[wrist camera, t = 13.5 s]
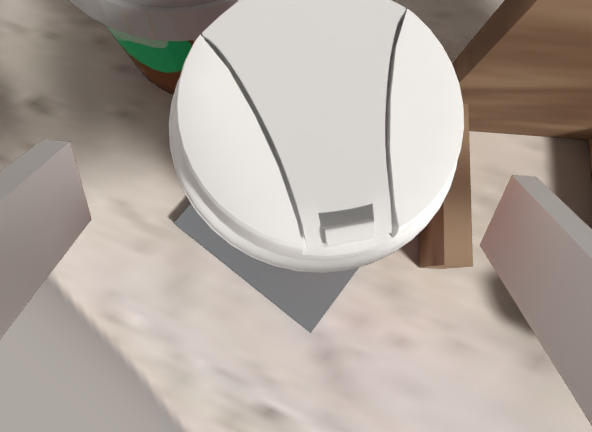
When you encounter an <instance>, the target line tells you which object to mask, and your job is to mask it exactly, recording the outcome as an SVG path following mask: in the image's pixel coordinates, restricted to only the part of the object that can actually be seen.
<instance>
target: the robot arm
mask: <svg viewBox="0 0 592 432" xmlns="http://www.w3.org/2000/svg"><path fill="white" fill-rule="evenodd" d="M90 221H91V216H90V212H89V208H88V205H87V201H86V197H85V194H84V190H83V186H82V183H81V179H80V175H79V172H78V168H77V164H76V161H75V157H74V153H73V150H72V146H71V142H70V141H57V140H44V139H43V140H42V141H40V142H39V143H38V144H36V145H35V146H34V147H32V148H31V149H30V150H28V151H27V152H26V153H24V154H23V155H22V156H20V157H19V158H18V159H16V160H15V161H14V162H12V163H11V164H10V165H8V166H7V167H6V168H4V169H3V170H2V171H0V339H1V338H2V336H3V335H4V334H5V332H6V331H7V330H8V328H9V327H10V326H11V325H12V323H13V322H14V321H15V319H16V318H17V317H18V315H19V314H20V313H21V311H22V310H23V309H24V307H25V306H26V305H27V303H28V302H29V301H30V300H31V298H32V297H33V296H34V294H35V293H36V292H37V290H38V289H39V288H40V286H41V285H42V284H43V282H44V281H45V280H46V278H47V277H48V276H49V275H50V273H51V272H52V271H53V269H54V268H55V267H56V265H57V264H58V263H59V261H60V260H61V259H62V257H63V256H64V255H65V253H66V252H67V251H68V250H69V248H70V247H71V246H72V244H73V243H74V242H75V240H76V239H77V238H78V236H79V235H80V234H81V232H82V231H83V230H84V228H85V227H86V226H87V224H88V223H89V222H90ZM480 246H481V248H482V250H483V251H484V253H485V255H486V256H487V258H488V259H489V261H490V263H491V264H492V266H493V267H494V269H495V271H496V272H497V274H498V275H499V277H500V279H501V280H502V282H503V284H504V285H505V287H506V288H507V290H508V292H509V293H510V295H511V296H512V298H513V300H514V301H515V303H516V304H517V306H518V308H519V309H520V311H521V313H522V314H523V316H524V317H525V319H526V321H527V322H528V324H529V325H530V327H531V329H532V330H533V332H534V334H535V335H536V337H537V338H538V340H539V342H540V343H541V345H542V346H543V348H544V350H545V351H546V353H547V354H548V356H549V358H550V359H551V361H552V363H553V364H554V366H555V367H556V369H557V371H558V372H559V374H560V375H561V377H562V379H563V380H564V382H565V383H566V385H567V387H568V388H569V390H570V392H571V393H572V395H573V396H574V398H575V400H576V401H577V403H578V404H579V406H580V408H581V409H582V411H583V412H584V414H585V416H586V417H587V419H588V421H589V422H590V424H591V425H592V229H591V228H590V227H589V226H588V225H587V224H586V223H585V222H583V221H582V220H581V219H580V218H579V217H578V216H577V215H576V214H575V213H574V212H573V211H572V210H571V209H570V208H569V207H568V206H567V205H566V204H564V203H563V202H562V201H561V200H560V199H559V198H558V197H557V196H556V195H555V194H554V193H553V192H552V191H551V190H550V189H549V188H548V187H547V186H545V185H544V184H543V183H542V182H541V181H540V180H539V179H538V178H537V177H532V176H518V175H512V176H511V178H510V180H509V183H508V185H507V187H506V189H505V191H504V193H503V196H502V198H501V200H500V202H499V204H498V206H497V209H496V211H495V213H494V215H493V217H492V220H491V222H490V224H489V226H488V228H487V230H486V233H485V235H484V237H483V239H482V241H481V243H480Z"/></svg>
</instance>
